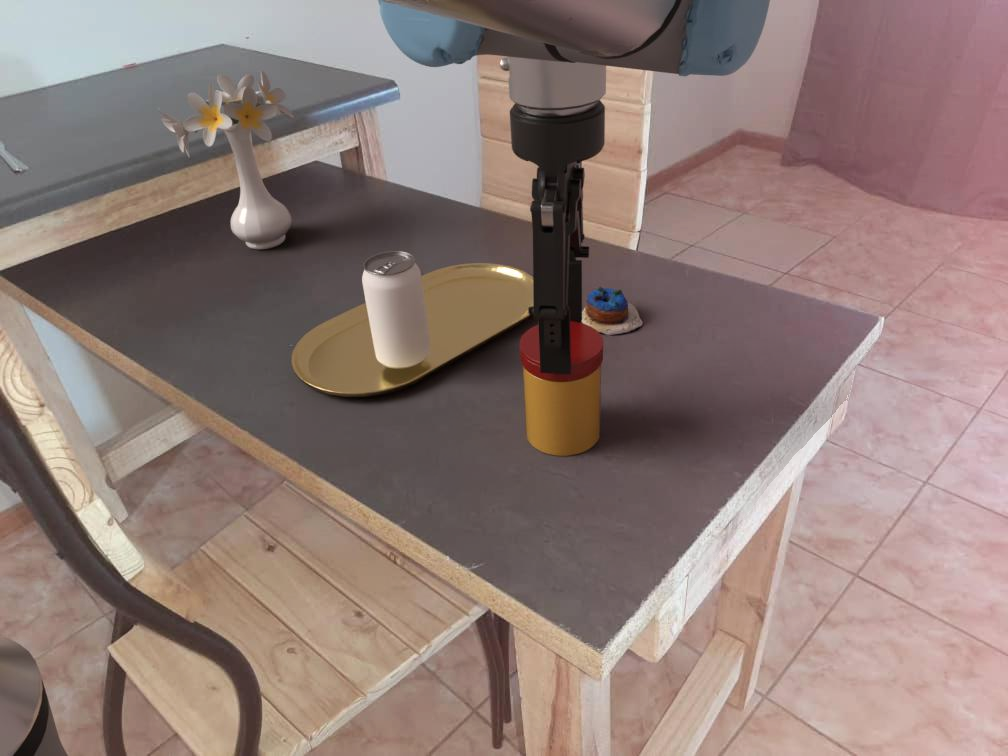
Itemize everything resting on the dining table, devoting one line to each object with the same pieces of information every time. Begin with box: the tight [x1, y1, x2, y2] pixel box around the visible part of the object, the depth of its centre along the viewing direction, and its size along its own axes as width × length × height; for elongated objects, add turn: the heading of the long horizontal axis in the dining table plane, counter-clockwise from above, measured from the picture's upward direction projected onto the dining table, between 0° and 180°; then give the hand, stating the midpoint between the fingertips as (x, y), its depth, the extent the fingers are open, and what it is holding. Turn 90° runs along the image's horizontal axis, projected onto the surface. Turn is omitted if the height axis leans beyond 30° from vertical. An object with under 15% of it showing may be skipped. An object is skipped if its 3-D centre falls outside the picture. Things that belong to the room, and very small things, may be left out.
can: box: [361, 250, 431, 369], centre depth 87 cm, size 6×6×12 cm
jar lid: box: [519, 321, 604, 381], centre depth 74 cm, size 8×8×2 cm
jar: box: [522, 364, 602, 457], centre depth 77 cm, size 8×8×10 cm
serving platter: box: [291, 262, 534, 398], centre depth 98 cm, size 19×35×2 cm, turn 135°
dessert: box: [581, 286, 644, 336], centre depth 97 cm, size 8×7×6 cm
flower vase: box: [156, 70, 295, 251], centre depth 116 cm, size 13×18×25 cm
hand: (562, 344), depth 74 cm, fingers open, 8 cm apart
